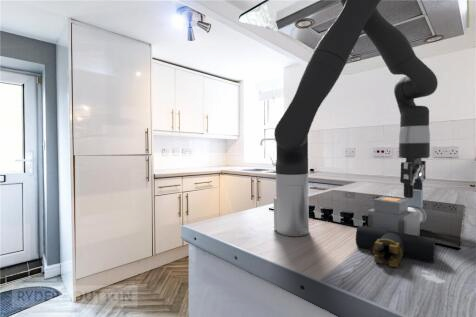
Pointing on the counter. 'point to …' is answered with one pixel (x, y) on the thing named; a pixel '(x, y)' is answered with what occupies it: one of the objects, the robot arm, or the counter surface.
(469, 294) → the counter surface
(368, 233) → the pipe connector
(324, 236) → the counter surface
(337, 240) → the counter surface
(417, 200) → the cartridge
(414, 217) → the housing
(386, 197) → the plunger
